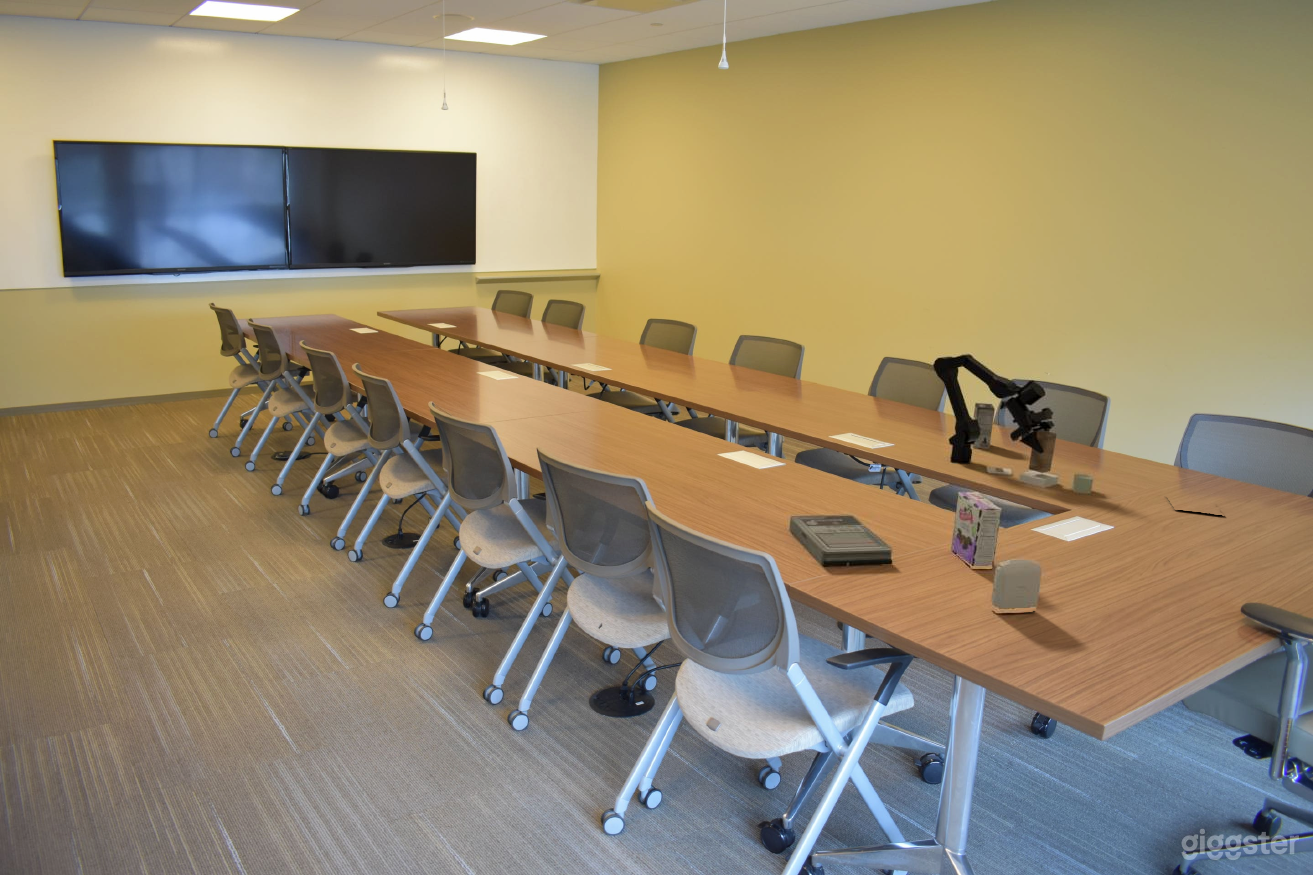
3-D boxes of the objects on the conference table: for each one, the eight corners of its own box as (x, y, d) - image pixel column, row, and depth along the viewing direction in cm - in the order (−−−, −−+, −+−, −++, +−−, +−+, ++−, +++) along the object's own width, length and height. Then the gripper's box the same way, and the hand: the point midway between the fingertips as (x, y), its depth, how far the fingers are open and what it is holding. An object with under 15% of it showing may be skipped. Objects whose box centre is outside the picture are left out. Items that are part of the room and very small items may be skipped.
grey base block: (1018, 482, 311) (1019, 473, 311) (1032, 478, 317) (1033, 469, 316) (1043, 489, 305) (1044, 480, 304) (1057, 484, 310) (1058, 476, 310)
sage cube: (1074, 492, 301) (1076, 477, 300) (1072, 488, 306) (1074, 473, 305) (1090, 494, 300) (1093, 479, 299) (1088, 490, 305) (1090, 475, 304)
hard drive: (822, 568, 229) (824, 551, 228) (788, 531, 255) (789, 516, 253) (891, 566, 232) (893, 549, 231) (850, 529, 258) (851, 514, 257)
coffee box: (969, 442, 363) (974, 402, 359) (986, 443, 362) (992, 403, 358) (972, 447, 354) (977, 407, 350) (990, 449, 353) (995, 408, 349)
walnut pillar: (1028, 469, 310) (1034, 431, 307) (1036, 467, 313) (1042, 430, 310) (1042, 473, 306) (1048, 435, 303) (1050, 471, 309) (1056, 433, 306)
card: (987, 472, 320) (987, 470, 320) (986, 468, 326) (986, 465, 326) (1011, 475, 318) (1012, 473, 318) (1010, 470, 324) (1010, 468, 323)
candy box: (949, 550, 244) (957, 490, 240) (971, 550, 245) (979, 491, 241) (971, 570, 231) (979, 507, 227) (994, 570, 231) (1002, 508, 227)
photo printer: (996, 616, 205) (1004, 564, 202) (986, 607, 209) (994, 556, 206) (1038, 614, 206) (1046, 562, 203) (1028, 606, 210) (1035, 555, 207)
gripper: (1023, 402, 301) (1050, 442, 296) (1053, 397, 313) (1079, 435, 307) (998, 421, 309) (1024, 460, 304) (1028, 415, 321) (1053, 453, 315)
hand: (1046, 451), depth 307 cm, fingers closed on walnut pillar, 5 cm apart
